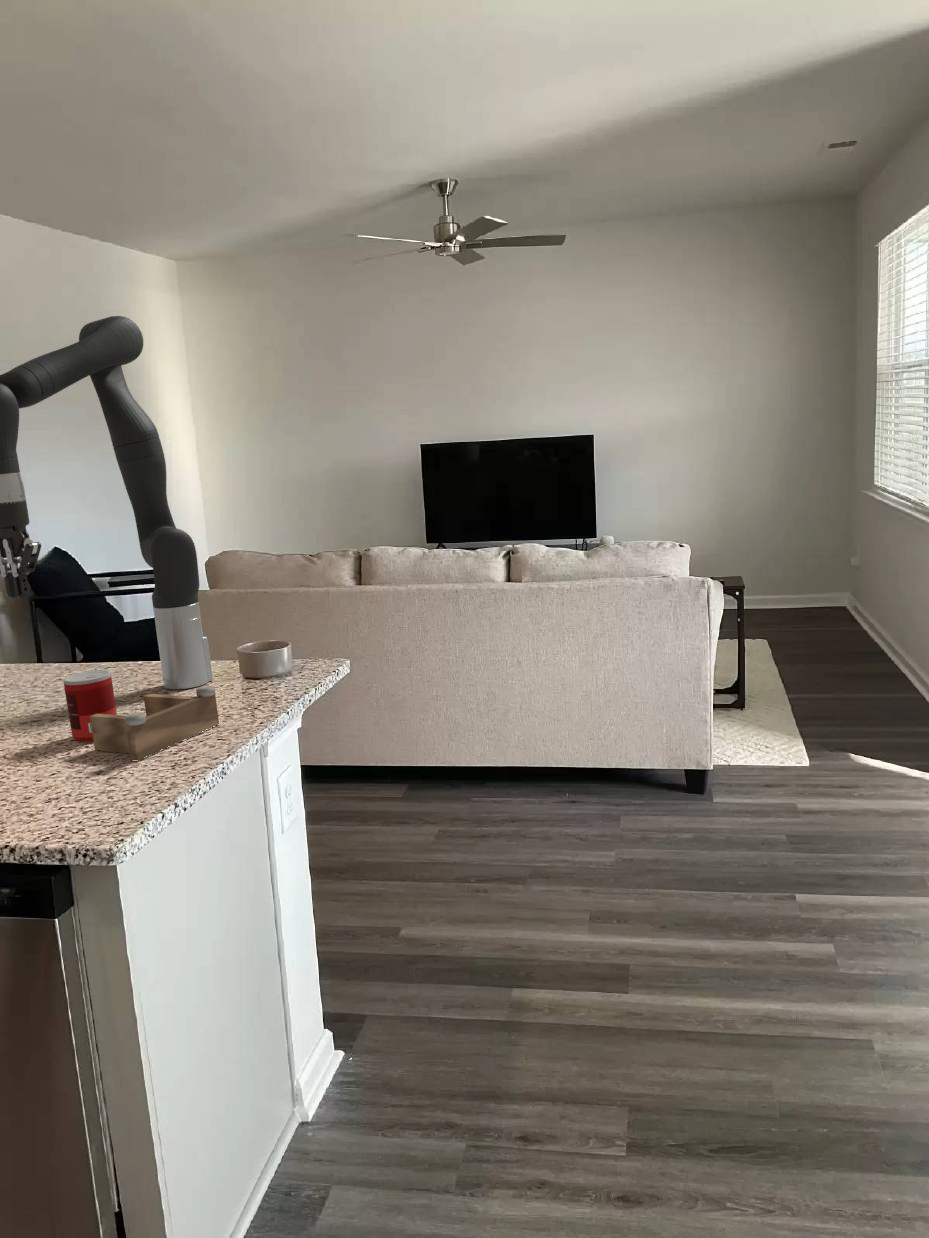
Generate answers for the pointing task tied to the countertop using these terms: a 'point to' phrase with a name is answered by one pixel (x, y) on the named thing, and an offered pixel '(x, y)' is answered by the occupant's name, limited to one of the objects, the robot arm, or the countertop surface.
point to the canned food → (88, 701)
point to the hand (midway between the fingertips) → (18, 596)
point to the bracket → (156, 723)
